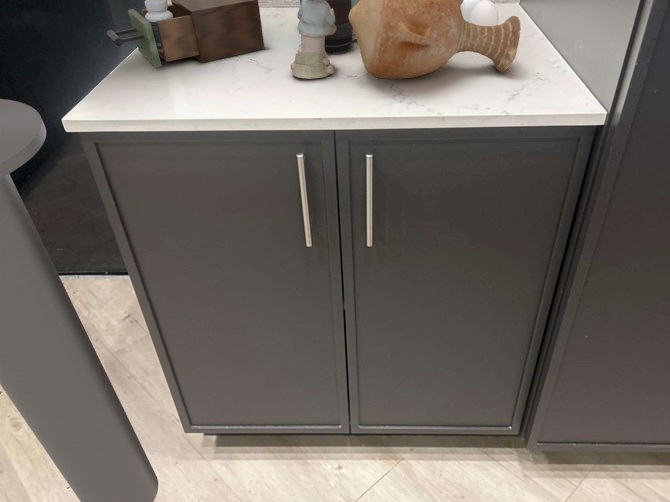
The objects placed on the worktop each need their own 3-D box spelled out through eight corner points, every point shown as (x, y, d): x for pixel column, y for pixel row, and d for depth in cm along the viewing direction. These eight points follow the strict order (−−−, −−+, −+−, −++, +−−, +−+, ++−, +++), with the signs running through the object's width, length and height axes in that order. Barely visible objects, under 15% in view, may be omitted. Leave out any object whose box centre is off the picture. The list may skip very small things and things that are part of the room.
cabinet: (202, 63, 113) (191, 11, 106) (181, 45, 121) (170, -4, 115) (264, 49, 118) (258, -1, 112) (240, 33, 126) (233, -14, 120)
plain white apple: (476, 28, 126) (480, -12, 121) (446, 24, 128) (448, -15, 123) (485, 19, 131) (489, -19, 126) (456, 16, 133) (459, -22, 128)
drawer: (126, 73, 107) (113, 30, 102) (111, 56, 114) (98, 15, 109) (217, 53, 114) (209, 12, 109) (197, 38, 121) (189, -1, 116)
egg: (462, 36, 122) (465, -2, 117) (486, 32, 123) (490, -6, 119) (476, 45, 117) (480, 5, 112) (502, 41, 119) (506, 2, 114)
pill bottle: (165, 54, 111) (153, 6, 105) (147, 50, 113) (134, 2, 107) (185, 46, 114) (175, -1, 108) (167, 42, 116) (156, -5, 111)
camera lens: (313, 56, 114) (306, -27, 105) (316, 42, 121) (310, -37, 111) (353, 55, 114) (350, -28, 105) (354, 41, 121) (351, -38, 111)
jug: (341, -11, 108) (492, 0, 113) (342, 90, 109) (491, 97, 114) (356, -69, 88) (538, -53, 93) (357, 55, 89) (536, 65, 94)
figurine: (332, 82, 104) (324, -41, 91) (287, 80, 105) (273, -42, 92) (341, 64, 110) (335, -53, 98) (299, 63, 111) (287, -53, 99)
